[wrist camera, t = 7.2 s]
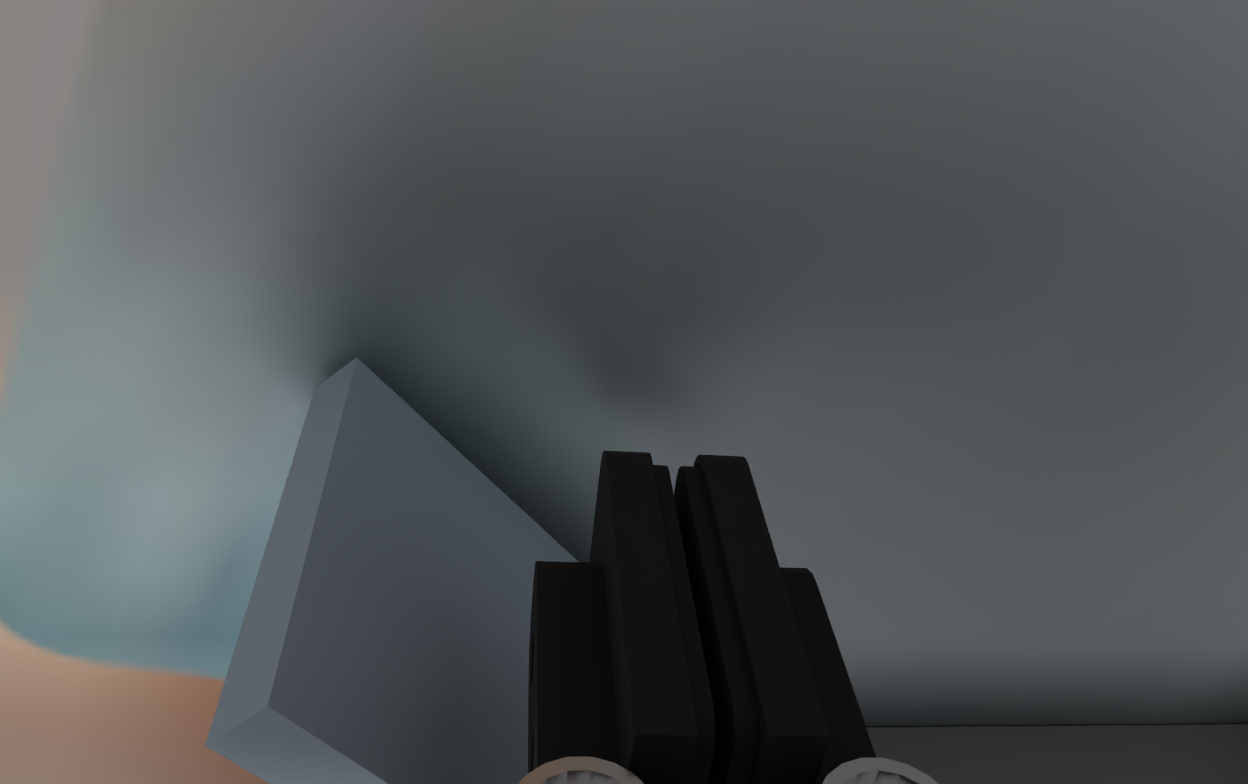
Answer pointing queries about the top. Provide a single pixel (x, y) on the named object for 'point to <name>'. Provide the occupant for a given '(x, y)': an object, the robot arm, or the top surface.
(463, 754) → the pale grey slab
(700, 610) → the robot arm
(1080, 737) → the camera body
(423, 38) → the top surface
